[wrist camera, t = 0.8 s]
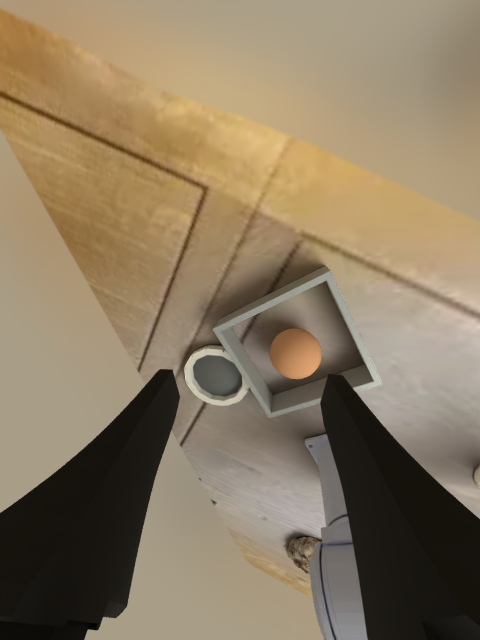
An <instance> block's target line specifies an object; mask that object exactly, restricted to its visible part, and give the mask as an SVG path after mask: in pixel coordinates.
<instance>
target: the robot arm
mask: <svg viewBox="0 0 480 640" xmlns="http://www.w3.org/2000/svg"><path fill="white" fill-rule="evenodd" d="M179 399H180V395H179V392H178V388H177V384H176V381H175V377H174V373H173V370H168V369H160V370H158V372H157V373H156V374H155V375H154V376H153V377H152V378H151V380H150V381H149V382H148V383H147V384H146V385H145V387H144V388H143V389H142V390H141V391H140V392H139V394H138V395H137V396H136V397H135V398H134V399H133V400H132V401H131V402H130V403H129V405H128V406H127V407H126V408H125V409H124V410H123V411H122V412H121V413H120V414H119V415H118V416H117V417H116V418H115V419H114V420H113V421H112V422H111V423H110V424H109V425H108V426H107V427H106V428H105V429H104V430H103V431H102V432H101V433H100V434H99V435H98V436H97V437H96V438H95V439H94V440H93V441H92V442H90V443H89V444H88V445H87V446H86V447H85V448H84V449H83V450H81V451H80V452H79V453H78V454H77V455H76V456H74V457H73V458H72V459H71V460H70V461H69V462H67V463H66V464H65V465H64V466H62V467H61V468H60V469H59V470H58V471H56V472H55V473H54V474H53V475H51V476H50V477H49V478H47V479H46V480H45V481H43V482H42V483H41V484H39V485H38V486H37V487H36V488H34V489H33V490H32V491H30V492H29V493H27V494H26V495H25V496H24V497H22V498H21V499H19V500H18V501H17V502H15V503H14V504H13V505H11V506H10V507H8V508H7V509H6V510H4V511H3V512H1V513H0V640H84V638H85V635H86V633H87V630H88V629H90V630H98V629H99V627H100V624H101V621H102V618H103V617H109V618H116V617H118V616H119V615H120V614H121V613H122V612H123V611H124V609H125V608H126V607H127V604H128V598H129V592H130V587H131V582H132V577H133V572H134V567H135V562H136V557H137V552H138V547H139V543H140V538H141V533H142V529H143V525H144V520H145V516H146V512H147V508H148V503H149V500H150V496H151V491H152V488H153V484H154V480H155V476H156V473H157V470H158V467H159V464H160V461H161V458H162V455H163V452H164V449H165V446H166V444H167V441H168V438H169V435H170V432H171V429H172V426H173V423H174V420H175V417H176V413H177V408H178V404H179ZM320 404H321V410H322V416H323V422H324V426H325V430H326V433H327V434H324V435H320V436H316V437H312V438H308V439H306V440H305V445H306V447H307V448H308V450H309V452H310V453H311V455H312V457H313V458H314V460H315V461H316V463H317V465H318V466H319V473H320V481H321V489H322V497H323V504H324V512H325V520H326V527H324V528H321V535H322V542H317V543H316V544H315V546H314V549H313V552H312V554H311V559H310V578H311V588H312V595H313V601H314V607H315V611H316V615H317V619H318V623H319V626H320V629H321V632H322V635H323V637H324V640H480V519H479V518H478V517H477V516H475V515H474V514H473V513H472V512H471V511H470V510H469V509H467V508H466V507H465V506H464V505H463V504H462V503H461V502H460V501H458V500H457V499H456V498H455V497H454V496H453V495H452V494H450V493H449V492H448V491H447V490H446V489H445V488H444V487H443V486H442V485H440V484H439V483H438V482H437V481H436V480H435V479H434V478H433V477H432V476H431V475H430V474H429V473H428V472H427V471H426V470H425V469H424V468H423V467H422V466H421V465H420V464H419V463H418V462H417V461H416V460H415V459H414V458H413V457H412V456H411V455H410V454H409V453H408V452H407V451H406V450H405V449H404V448H403V447H402V446H401V445H400V444H399V443H398V442H397V441H396V439H395V438H394V437H393V436H392V435H391V434H390V433H389V432H388V431H387V429H386V428H385V427H384V426H383V425H382V424H381V423H380V421H379V420H378V419H377V418H376V417H375V415H374V414H373V413H372V412H371V411H370V409H369V408H368V407H367V406H366V404H365V403H364V402H363V401H362V399H361V398H360V397H359V396H358V394H357V393H356V392H355V390H354V389H353V388H352V386H351V385H350V384H349V383H348V381H347V380H346V379H345V377H344V376H343V375H334V374H328V377H327V381H326V384H325V387H324V391H323V394H322V398H321V401H320Z"/></svg>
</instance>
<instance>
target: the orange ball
mask: <svg viewBox="0 0 480 640" xmlns="http://www.w3.org/2000/svg"><path fill="white" fill-rule="evenodd" d="M270 358H271V362H272V364H273V366H274V367H275V369H276V370H277V371H278V372H279V373H280V374H282V375H283V376H285V377H288V378H291V379H302V378H305V377H308V376H310V375H311V374H312V373H314V372H315V371H316V369H317V368H318V366H319V364H320V361H321V348H320V345H319V343H318V341H317V339H316V338H315V337H314V336H313V335H312V334H310V333H309V332H307V331H305V330H303V329H298V328H292V329H287V330H284V331H282V332H281V333H279V334H278V335H277V336H276V337H275V339H274V340H273V342H272V344H271V347H270Z"/></svg>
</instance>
